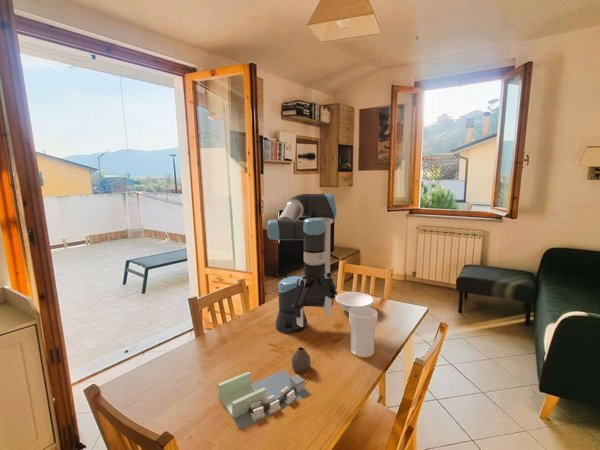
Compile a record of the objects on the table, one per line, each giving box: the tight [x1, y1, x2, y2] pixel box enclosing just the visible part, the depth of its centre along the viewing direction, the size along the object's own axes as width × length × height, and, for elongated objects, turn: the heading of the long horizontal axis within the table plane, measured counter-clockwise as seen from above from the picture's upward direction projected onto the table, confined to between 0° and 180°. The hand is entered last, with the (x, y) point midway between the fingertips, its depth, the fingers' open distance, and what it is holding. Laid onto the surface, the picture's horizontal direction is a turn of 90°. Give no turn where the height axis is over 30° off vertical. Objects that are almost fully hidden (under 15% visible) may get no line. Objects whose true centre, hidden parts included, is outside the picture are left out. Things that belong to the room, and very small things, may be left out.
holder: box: [218, 371, 266, 421], centre depth 100 cm, size 11×11×5 cm
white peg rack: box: [250, 373, 306, 420], centre depth 100 cm, size 7×20×3 cm, turn 126°
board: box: [218, 369, 312, 431], centre depth 103 cm, size 16×25×1 cm, turn 126°
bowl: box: [335, 291, 374, 313], centre depth 168 cm, size 20×20×7 cm
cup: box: [348, 306, 379, 360], centre depth 128 cm, size 11×11×17 cm
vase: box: [291, 346, 311, 374], centre depth 117 cm, size 7×7×9 cm
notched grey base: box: [249, 386, 296, 413], centre depth 100 cm, size 4×19×1 cm, turn 126°
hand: (314, 319), depth 115 cm, fingers open, 13 cm apart
